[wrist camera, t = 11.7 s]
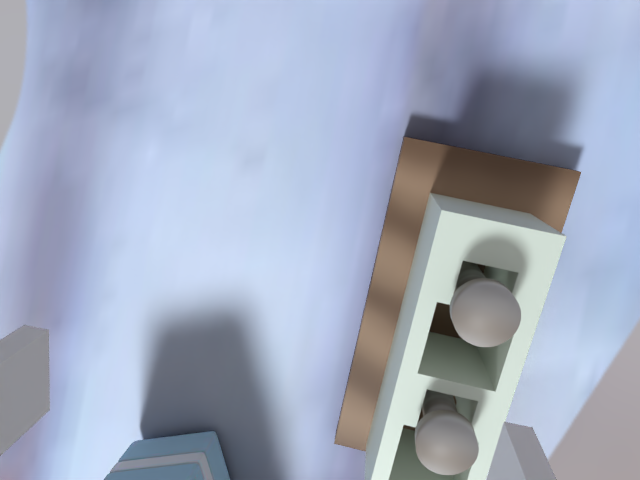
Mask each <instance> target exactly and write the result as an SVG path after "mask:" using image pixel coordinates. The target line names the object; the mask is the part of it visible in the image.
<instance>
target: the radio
mask: <svg viewBox="0 0 640 480" xmlns="http://www.w3.org/2000/svg"><path fill="white" fill-rule="evenodd" d="M104 480H230V477H229V474H228V471H227V467H226V464H225V460H224V457H223V454H222V450H221V447H220V444H219V440H218V437H217V434H216V432H215V431H209V432H200V433H193V434H185V435H177V436H169V437H161V438H153V439H145V440H138V441H135V442H133V443H132V444H131V445H130V446H129V448H128V449H127V450H126V452H125V453H124V454H123V455H122V457H121V458H120V459H119V461H118V463H116V465H115V466H114V467H113V468H112V470H111V471H110V473H109V474H108V475H107V476H106V477H105V479H104Z"/></svg>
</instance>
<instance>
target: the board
mask: <svg viewBox="0 0 640 480" xmlns="http://www.w3.org/2000/svg"><path fill="white" fill-rule="evenodd" d="M580 174H581V172H579V171H575V170H571V169H566V168H561V167H556V166H551V165H546V164H541V163H536V162H530V161H525V160H520V159H515V158H510V157H505V156H500V155H495V154H490V153H485V152H480V151H475V150H470V149H465V148H460V147H455V146H450V145H445V144H440V143H435V142H430V141H424V140H419V139H414V138H409V137H404V138H403V142H402V146H401V151H400V155H399V159H398V164H397V168H396V172H395V177H394V181H393V186H392V190H391V194H390V199H389V203H388V207H387V212H386V216H385V220H384V225H383V229H382V234H381V238H380V242H379V247H378V251H377V255H376V260H375V264H374V269H373V273H372V277H371V282H370V286H369V290H368V295H367V299H366V303H365V308H364V312H363V317H362V321H361V325H360V330H359V334H358V338H357V343H356V347H355V351H354V356H353V360H352V365H351V369H350V373H349V378H348V382H347V386H346V391H345V395H344V400H343V404H342V408H341V413H340V417H339V421H338V426H337V430H336V436H335V442H334V444H338V445H342V446H346V447H350V448H354V449H358V450H362V451H366V444H367V440H368V436H369V432H370V428H371V424H372V420H373V416H374V412H375V408H376V404H377V400H378V396H379V392H380V388H381V384H382V380H383V377H384V373H385V369H386V365H387V361H388V357H389V353H390V349H391V345H392V341H393V337H394V333H395V329H396V325H397V321H398V317H399V313H400V309H401V305H402V301H403V297H404V293H405V289H406V285H407V281H408V277H409V273H410V269H411V266H412V262H413V258H414V254H415V250H416V246H417V242H418V238H419V234H420V230H421V226H422V222H423V218H424V214H425V210H426V206H427V202H428V198H429V194H430V193H434V194H439V195H444V196H448V197H453V198H458V199H463V200H468V201H472V202H477V203H482V204H487V205H492V206H496V207H501V208H506V209H511V210H516V211H520V212H525V213H530V214H532V215H533V216H535V217H536V218H538V219H540V220H541V221H543V222H544V223H546V224H548V225H549V226H551V227H552V228H554V229H556V230H557V231H559V232H560V233H561V232H562V229H563V226H564V223H565V220H566V217H567V214H568V211H569V208H570V205H571V202H572V199H573V196H574V193H575V190H576V186H577V183H578V180H579V177H580ZM485 266H486V265H481V264H477V263H472V262H467V261H463V262H462V265H461V269H460V273H459V276H458V280H457V283H456V287H455V291H454V294H453V297H452V299H451V302H450V305H448V304H444V303H439V302H437V304H436V308H435V311H434V315H433V319H432V322H431V326H430V330H429V332H433V333H438V334H442V335H446V336H451V337H455V338H460V339H463V340H465V341H466V342H468V343H470V344H472V345H475V346H479V347H493V346H497V345H500V344H502V343H504V342H506V341H507V340H509V339H510V338H511V337H512V336H513V335H514V334H515V333H516V331H517V329H518V327H519V325H520V321H521V309H520V306H519V303H518V301H517V300H516V298H515V297H514V296H513V294H512V293H511V292H510V290H509V289H508V288H507V287H506V286H505V285H503V284H502V283H500V282H498V281H496V280H493V279H488V278H486V277H485V276H484V274H483V273H484V269H485ZM403 428H405V429H409V430H413V431H415V445H416V453H417V456H418V458H419V460H420V462H421V463H422V464H423V465H424V466H425V467H426V468H427V469H429V470H430V471H432V472H435V473H437V474H441V475H455V474H459V473H462V472H464V471H466V470H467V469H469V468H470V467H471V466H472V465H473V464H474V463H475V461H476V459H477V457H478V453H479V446H478V441H477V438H476V435H475V431H474V428H473V426H472V424H471V423H470V421H469V420H468V419H467V418H466V417H465V416H463V415H462V414H460V413H458V412H457V409H456V399H455V396H453V395H449V394H445V393H441V392H437V391H432V390H428V389H427V391H426V394H425V398H424V401H423V405H422V408H421V412H420V416H419V419H418V423H417V426H416V428H415V427H411V426H407V425H403Z"/></svg>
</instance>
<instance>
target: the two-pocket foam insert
mask: <svg viewBox="0 0 640 480" xmlns="http://www.w3.org/2000/svg"><path fill="white" fill-rule="evenodd" d="M566 237H567V236H565V235H564V234H562V233H560V232H559V231H557V230H556V229H554V228H552V227H551V226H549V225H548V224H546V223H544V222H543V221H541V220H540V219H538V218H536V217H535V216H533V215H532V214H530V213H525V212H520V211H516V210H511V209H506V208H501V207H496V206H492V205H487V204H482V203H477V202H472V201H468V200H463V199H458V198H453V197H448V196H444V195H439V194H434V193H430V194H429V198H428V202H427V206H426V210H425V214H424V218H423V222H422V226H421V230H420V234H419V238H418V242H417V246H416V250H415V254H414V258H413V262H412V266H411V269H410V273H409V277H408V281H407V285H406V289H405V293H404V297H403V301H402V305H401V309H400V313H399V317H398V321H397V325H396V329H395V333H394V337H393V341H392V345H391V349H390V353H389V357H388V361H387V365H386V369H385V373H384V377H383V380H382V384H381V388H380V392H379V396H378V400H377V404H376V408H375V412H374V416H373V420H372V424H371V428H370V432H369V436H368V440H367V444H366V461H365V480H486V478H487V474H488V471H489V468H490V465H491V462H492V459H493V456H494V452H495V449H496V446H497V443H498V439H499V436H500V433H501V430H502V426H503V423H504V422H505V420H506V417H507V414H508V411H509V408H510V405H511V402H512V399H513V396H514V393H515V390H516V387H517V384H518V381H519V378H520V375H521V372H522V369H523V366H524V363H525V360H526V357H527V354H528V351H529V348H530V345H531V342H532V339H533V336H534V333H535V330H536V327H537V324H538V321H539V318H540V315H541V312H542V309H543V306H544V303H545V300H546V297H547V294H548V291H549V288H550V285H551V282H552V279H553V276H554V273H555V270H556V267H557V264H558V261H559V258H560V255H561V252H562V249H563V246H564V243H565V240H566ZM463 261H467V262H472V263H477V264H481V265H486V266H485V269H484V273H483V274H484V276H485V277H486V278H488V279H493V280H496V281H498V282H500V283H502V284H503V285H505V286H506V287H507V288H508V289H509V290H510V292H511V293H512V294H513V296H514V297H515V298H516V300H517V301H518V303H519V306H520V309H521V321H520V325H519V327H518V329H517V331H516V333H515V334H514V335H513V336H512V337H511V338H510V339H509V340H507V341H506V342H504V343H502V344H500V345H497V346H493V347H479V346H475V345H472V344H470V343H468V342H466V341H465V340H463V339H460V338H455V337H451V336H446V335H442V334H438V333H433V332H429V330H430V326H431V322H432V319H433V315H434V311H435V308H436V304H437V302H439V303H444V304H448V305H450V302H451V299H452V297H453V294H454V291H455V287H456V283H457V280H458V276H459V273H460V269H461V265H462V262H463ZM427 389H428V390H432V391H437V392H441V393H445V394H449V395H453V396H455V399H456V409H457V412H458V413H460V414H462V415H463V416H465V417H466V418H467V419H468V420H469V421H470V423H471V424H472V426H473V428H474V431H475V435H476V438H477V441H478V446H479V453H478V457H477V459H476V461H475V463H474V464H473V465H472V466H471V467H470V468H469V469H467V470H466V471H464V472H462V473H459V474H455V475H441V474H437V473H435V472H432V471H430V470H429V469H427V468H426V467H425V466H424V465H423V464H422V463H421V462H420V460H419V458H418V456H417V453H416V445H415V431H413V430H409V429H405V428H403V425H407V426H411V427H415V428H416V426H417V423H418V419H419V416H420V412H421V408H422V405H423V401H424V398H425V394H426V391H427Z"/></svg>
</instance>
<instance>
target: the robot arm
mask: <svg viewBox="0 0 640 480" xmlns="http://www.w3.org/2000/svg"><path fill="white" fill-rule="evenodd" d="M49 410H50V401H49V330H47V329H42V328H37V327H32V326H27V325H23V326H22V327H20V328H18V329H17V330H15V331H14V332H12V333H11V334H9V335H7V336H6V337H4V338H3V339H1V340H0V456H1V455H2V454H3V453H4V452H5V451H6V450H8V449H9V448H10V447H11V446H12V445H13V444H14V443H15V442H16V441H17V440H18V439H19V438H20V437H21V436H23V435H24V434H25V433H26V432H27V431H28V430H29V429H30V428H31V427H32V426H33V425H34V424H35V423H36V422H38V421H39V420H40V419H41V418H42V417H43V416H44V415H45V414H46V413H47V412H48V411H49ZM486 480H556V477H555V475H554V473H553V471H552V469H551V467H550V465H549V462H548V460H547V458H546V456H545V454H544V451H543V449H542V447H541V445H540V443H539V441H538V438H537V436H536V434H535V432H534V430H533V428H532V427H527V426H522V425H517V424H513V423H508V422H504V423H503V426H502V430H501V433H500V436H499V439H498V443H497V446H496V449H495V452H494V456H493V459H492V462H491V466H490V469H489V472H488V475H487V479H486Z"/></svg>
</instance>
